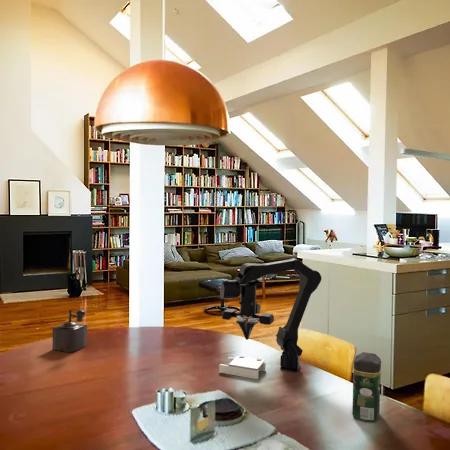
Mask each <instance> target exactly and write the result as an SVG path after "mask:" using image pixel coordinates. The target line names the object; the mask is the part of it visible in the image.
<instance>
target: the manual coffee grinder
mask: <svg viewBox="0 0 450 450" xmlns="http://www.w3.org/2000/svg"><path fill="white" fill-rule="evenodd" d="M85 316H86V311H85V310H84V309H78V310H77V311H76V312H75V314H74V313H73V309H71V308H70V309H68V321H66V322H64V323H62V324H60V325H57V326H53V327H52V347H51V349H52V350H53V351H57V352H65V353H76V352H78V351H79V350H82V349H84V348H86V347H87V345H88V325H87V324H83V323H82V322H83V321H84V317H85ZM72 317H74V318H76V319H75V321H74V320H73V321H72ZM76 321H77V322H76ZM80 322H81V323H80Z"/></svg>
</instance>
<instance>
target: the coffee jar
mask: <svg viewBox="0 0 450 450" xmlns="http://www.w3.org/2000/svg"><path fill="white" fill-rule="evenodd" d="M381 374H382V360H381V358H380V357H379V356H378V355H377V354H376V353H372V352H367V351H366V352H363V351H362V352H361V353H359V354H358V353H357V355H355V357H354V360H353V374H352V376H353V379H352V409H351V411H352V412H351V414H352V416H353V417H354V418H355V419H357V420H359V419H360V420H359V421H362V420H365V421H364V422H376V421H377V420H378V419H379V418H380V409H381V408H380V407H381V404H380V403H381V379H382V376H381Z"/></svg>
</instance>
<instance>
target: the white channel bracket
mask: <svg viewBox="0 0 450 450" xmlns="http://www.w3.org/2000/svg"><path fill="white" fill-rule="evenodd" d="M235 358H236V357H230V356H229V357H228V358H227V364H222V363H220V364H219V370H218V371H219V374H226V375H231V376H232V375H233V376H238V377H245V378H248V379H249V378H250V379H253V380H254V379H255V380H259V372H260V371H261V372H265V371H266V367H267V366H266V362H264V363H263V364H262V365H261V366H260V368H259V369H252V368H246V367H240V366H234V365H229V363H231V362H232V361H233V360H234V359H235Z"/></svg>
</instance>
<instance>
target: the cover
mask: <svg viewBox="0 0 450 450" xmlns="http://www.w3.org/2000/svg"><path fill="white" fill-rule="evenodd" d="M234 358H235V359H234V360H233V361H232V362H231V363H229V365H234V366H240V367H246V368H252V369H259V368H260V366H261V365H262V364H263V363H266V361H265V359H262V358H254V357H247V356H244V355H237V356H235V357H234Z"/></svg>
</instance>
